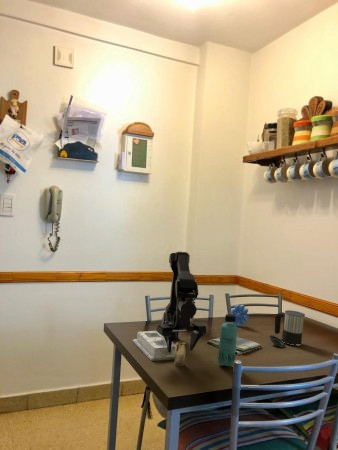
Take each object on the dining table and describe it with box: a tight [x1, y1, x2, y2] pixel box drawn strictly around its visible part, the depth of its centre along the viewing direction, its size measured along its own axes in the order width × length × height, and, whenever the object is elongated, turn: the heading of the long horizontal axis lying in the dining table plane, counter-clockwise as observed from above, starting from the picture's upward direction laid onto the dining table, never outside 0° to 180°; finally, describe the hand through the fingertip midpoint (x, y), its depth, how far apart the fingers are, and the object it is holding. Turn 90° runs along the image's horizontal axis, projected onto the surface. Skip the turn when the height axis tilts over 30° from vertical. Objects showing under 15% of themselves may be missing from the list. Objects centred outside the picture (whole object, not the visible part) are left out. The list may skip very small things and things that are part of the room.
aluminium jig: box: [132, 330, 176, 362], centre depth 158 cm, size 13×22×4 cm, turn 24°
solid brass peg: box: [173, 341, 187, 367], centre depth 145 cm, size 4×4×8 cm
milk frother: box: [268, 309, 306, 347], centre depth 180 cm, size 14×16×15 cm
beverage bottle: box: [217, 313, 239, 367], centre depth 146 cm, size 6×7×20 cm
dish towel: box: [206, 336, 262, 356], centre depth 172 cm, size 19×18×3 cm
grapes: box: [230, 304, 250, 327], centre depth 204 cm, size 12×7×12 cm, turn 42°
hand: (180, 351), depth 145 cm, fingers open, 9 cm apart
